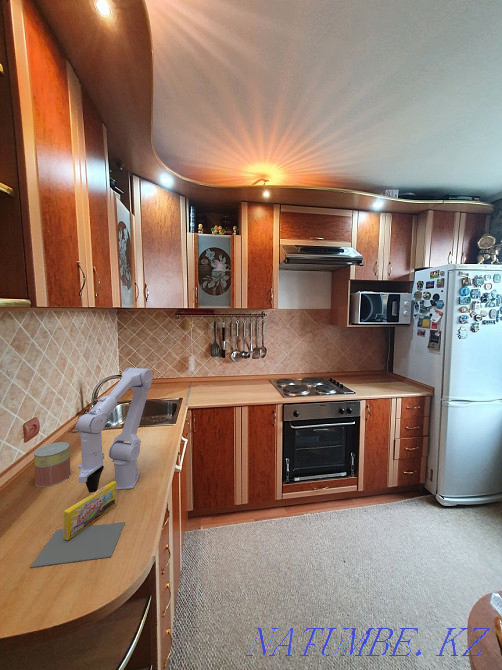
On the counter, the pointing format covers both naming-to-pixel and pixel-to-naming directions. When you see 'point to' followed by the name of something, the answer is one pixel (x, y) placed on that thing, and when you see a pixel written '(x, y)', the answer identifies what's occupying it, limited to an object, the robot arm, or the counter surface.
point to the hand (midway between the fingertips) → (93, 491)
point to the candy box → (89, 510)
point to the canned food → (52, 464)
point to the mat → (80, 545)
